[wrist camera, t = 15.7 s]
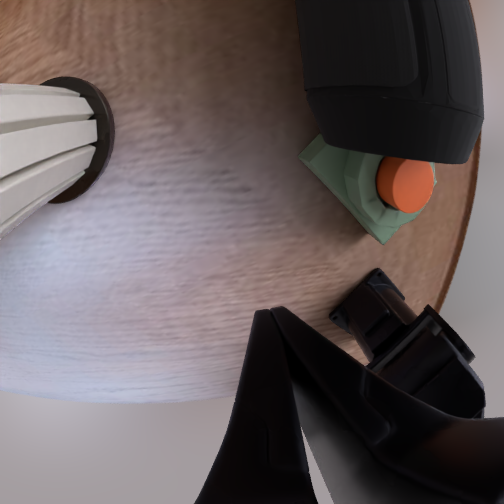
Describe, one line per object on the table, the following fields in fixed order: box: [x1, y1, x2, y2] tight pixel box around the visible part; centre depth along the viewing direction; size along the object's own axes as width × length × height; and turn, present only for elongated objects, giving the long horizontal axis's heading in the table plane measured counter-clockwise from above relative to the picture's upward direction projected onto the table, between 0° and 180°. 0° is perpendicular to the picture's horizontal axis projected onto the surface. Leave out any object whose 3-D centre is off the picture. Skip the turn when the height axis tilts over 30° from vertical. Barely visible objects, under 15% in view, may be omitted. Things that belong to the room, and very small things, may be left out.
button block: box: [298, 132, 437, 245], centre depth 17 cm, size 9×7×4 cm
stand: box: [40, 77, 115, 204], centre depth 11 cm, size 8×8×6 cm
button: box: [376, 156, 434, 213], centre depth 15 cm, size 4×4×2 cm
